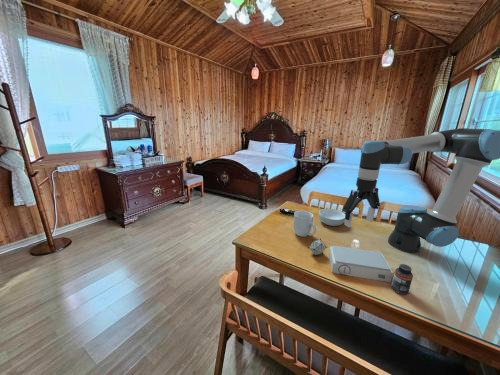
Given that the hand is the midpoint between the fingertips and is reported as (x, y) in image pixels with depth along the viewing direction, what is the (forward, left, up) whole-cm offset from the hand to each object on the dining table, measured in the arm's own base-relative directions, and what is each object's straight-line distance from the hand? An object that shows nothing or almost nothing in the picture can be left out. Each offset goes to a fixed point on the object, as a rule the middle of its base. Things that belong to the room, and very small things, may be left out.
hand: (358, 223), depth 98 cm
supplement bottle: (-16, +13, -22) cm, 30 cm away
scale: (-2, +2, -22) cm, 22 cm away
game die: (+16, -4, -22) cm, 27 cm away
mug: (+23, -22, -22) cm, 39 cm away
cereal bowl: (+5, -43, -22) cm, 49 cm away
